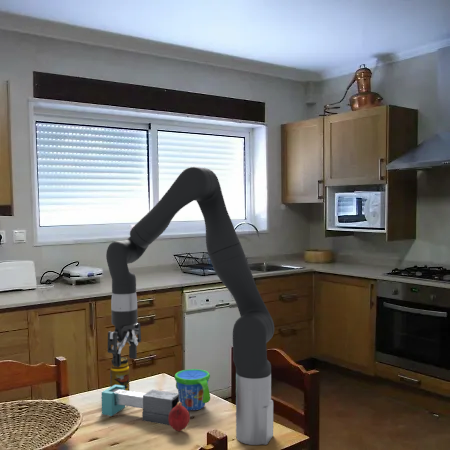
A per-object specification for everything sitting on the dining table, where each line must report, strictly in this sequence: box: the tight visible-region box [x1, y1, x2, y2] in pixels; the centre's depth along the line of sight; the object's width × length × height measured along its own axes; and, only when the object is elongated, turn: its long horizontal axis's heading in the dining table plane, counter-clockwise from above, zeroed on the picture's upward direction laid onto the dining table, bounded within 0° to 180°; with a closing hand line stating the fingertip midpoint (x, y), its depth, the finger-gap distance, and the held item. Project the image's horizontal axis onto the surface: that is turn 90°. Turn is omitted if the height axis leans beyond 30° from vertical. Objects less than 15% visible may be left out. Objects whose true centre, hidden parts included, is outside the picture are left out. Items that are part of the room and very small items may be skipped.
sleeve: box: [141, 389, 180, 426], centre depth 146 cm, size 9×6×7 cm, turn 68°
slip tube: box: [111, 389, 147, 409], centre depth 149 cm, size 14×3×3 cm, turn 68°
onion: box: [168, 401, 191, 433], centre depth 137 cm, size 6×6×8 cm
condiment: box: [101, 356, 130, 399], centre depth 164 cm, size 7×8×12 cm
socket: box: [101, 385, 126, 417], centre depth 152 cm, size 4×7×7 cm, turn 158°
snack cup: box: [174, 368, 211, 411], centre depth 154 cm, size 16×10×10 cm
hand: (125, 362), depth 150 cm, fingers open, 8 cm apart
